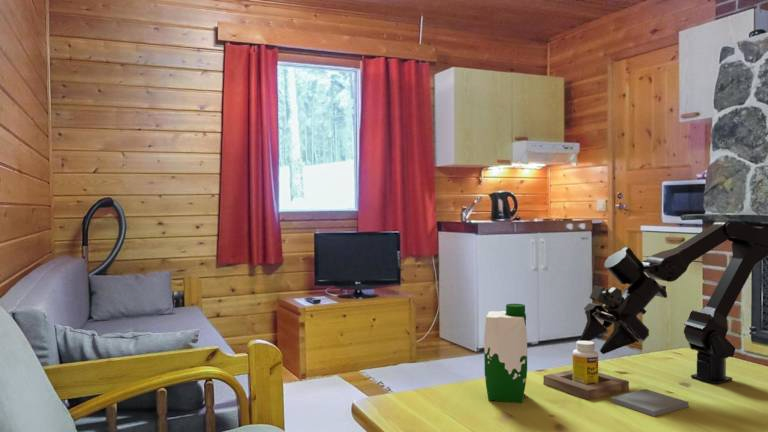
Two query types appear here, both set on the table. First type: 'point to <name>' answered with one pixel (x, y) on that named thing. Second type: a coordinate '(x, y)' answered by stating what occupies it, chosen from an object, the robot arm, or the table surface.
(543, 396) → the table surface
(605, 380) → the walnut holder
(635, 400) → the slate mat
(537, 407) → the table surface
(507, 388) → the milk carton
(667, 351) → the table surface
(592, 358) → the supplement bottle
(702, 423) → the table surface
